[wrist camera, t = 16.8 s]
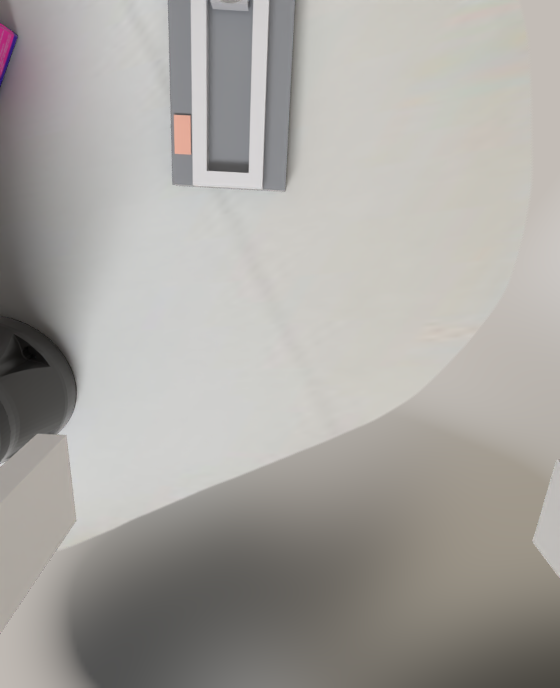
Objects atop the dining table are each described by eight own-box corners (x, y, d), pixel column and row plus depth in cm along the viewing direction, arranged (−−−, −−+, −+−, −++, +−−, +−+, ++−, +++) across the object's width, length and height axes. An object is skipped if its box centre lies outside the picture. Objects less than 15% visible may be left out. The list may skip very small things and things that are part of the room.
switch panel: (285, 191, 39) (285, 189, 36) (177, 185, 39) (169, 183, 36) (299, -78, 33) (300, -106, 30) (172, -86, 33) (161, -115, 30)
